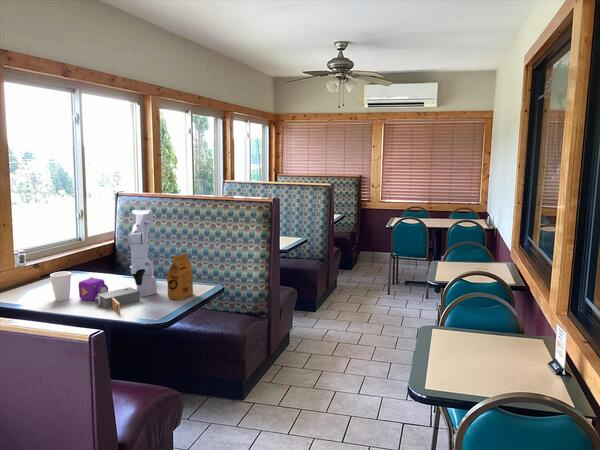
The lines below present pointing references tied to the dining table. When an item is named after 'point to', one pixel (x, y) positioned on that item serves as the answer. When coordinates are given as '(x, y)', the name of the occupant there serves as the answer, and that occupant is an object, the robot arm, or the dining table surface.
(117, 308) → the door
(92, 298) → the toy camera
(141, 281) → the robot arm
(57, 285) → the foam cup
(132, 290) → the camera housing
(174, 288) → the coffee package
